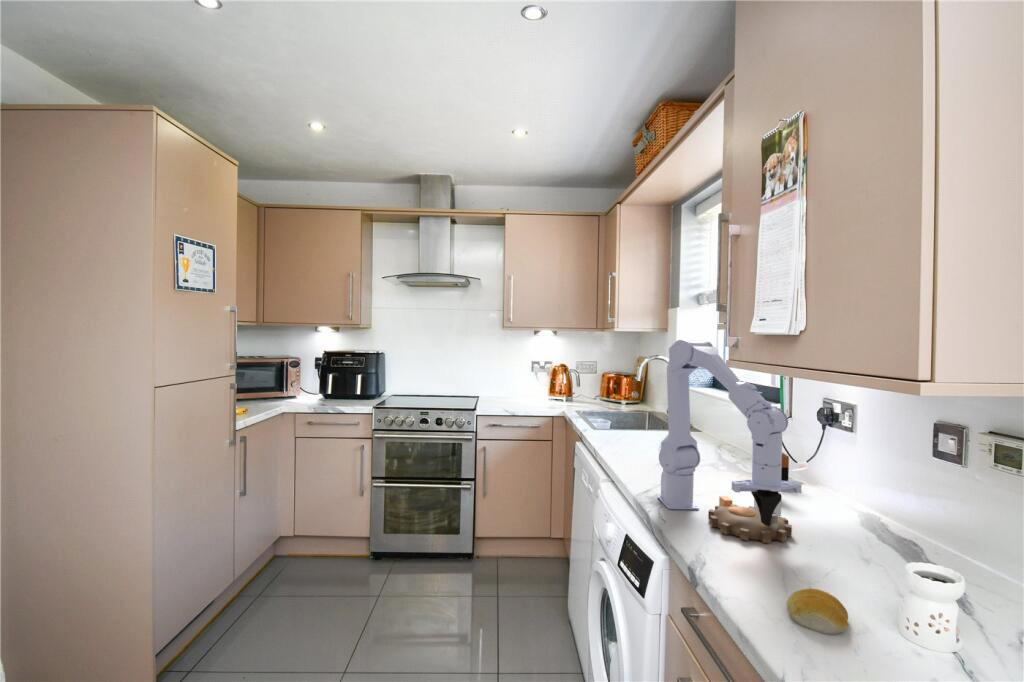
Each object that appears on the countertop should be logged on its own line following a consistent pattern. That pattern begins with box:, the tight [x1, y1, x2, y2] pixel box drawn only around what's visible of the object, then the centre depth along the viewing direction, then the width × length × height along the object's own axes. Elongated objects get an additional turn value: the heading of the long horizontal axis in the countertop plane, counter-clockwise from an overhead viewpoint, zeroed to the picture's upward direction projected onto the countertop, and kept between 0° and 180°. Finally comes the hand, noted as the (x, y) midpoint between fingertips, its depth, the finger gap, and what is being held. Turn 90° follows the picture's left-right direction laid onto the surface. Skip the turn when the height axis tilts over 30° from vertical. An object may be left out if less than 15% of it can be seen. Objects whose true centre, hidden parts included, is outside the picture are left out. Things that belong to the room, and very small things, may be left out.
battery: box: [781, 451, 790, 481], centre depth 147 cm, size 4×7×10 cm, turn 170°
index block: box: [718, 495, 733, 507], centre depth 123 cm, size 3×2×3 cm, turn 1°
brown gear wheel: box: [707, 504, 793, 544], centre depth 111 cm, size 17×17×5 cm
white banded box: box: [753, 492, 782, 517], centre depth 121 cm, size 6×4×6 cm, turn 1°
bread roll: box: [786, 588, 849, 635], centre depth 76 cm, size 8×9×4 cm
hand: (765, 524), depth 105 cm, fingers closed
